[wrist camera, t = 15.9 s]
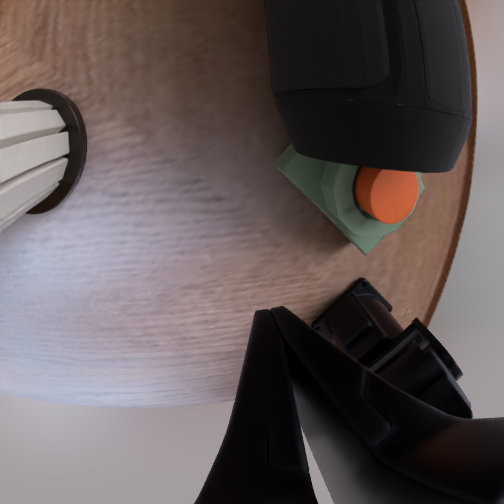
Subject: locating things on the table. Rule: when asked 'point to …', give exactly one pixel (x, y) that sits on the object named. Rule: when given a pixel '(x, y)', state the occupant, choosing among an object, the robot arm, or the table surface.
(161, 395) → the table surface
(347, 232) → the button block
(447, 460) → the robot arm
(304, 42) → the portable speaker
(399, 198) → the button
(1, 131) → the white fluted hollow cylinder
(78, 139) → the stand
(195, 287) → the table surface
